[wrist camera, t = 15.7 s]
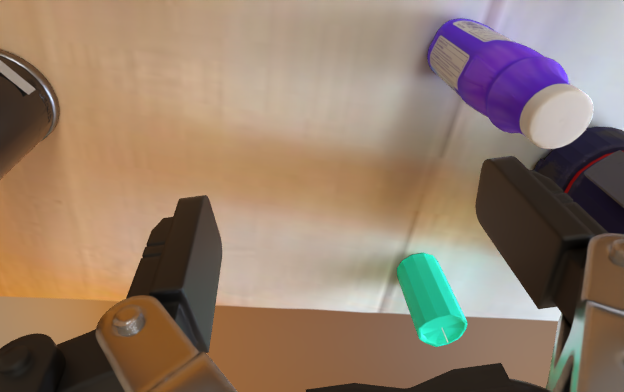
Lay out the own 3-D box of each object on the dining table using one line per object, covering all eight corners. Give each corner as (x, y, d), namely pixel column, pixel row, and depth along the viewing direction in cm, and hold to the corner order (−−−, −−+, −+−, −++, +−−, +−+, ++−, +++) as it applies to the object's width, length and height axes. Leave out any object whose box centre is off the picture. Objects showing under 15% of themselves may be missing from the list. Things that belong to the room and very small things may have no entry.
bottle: (412, 64, 40) (490, 145, 26) (441, 5, 37) (547, 60, 23) (472, 87, 42) (576, 174, 28) (505, 33, 39) (639, 99, 25)
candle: (417, 246, 54) (449, 319, 45) (447, 263, 57) (484, 336, 47) (387, 273, 57) (411, 348, 47) (417, 289, 59) (446, 363, 49)
